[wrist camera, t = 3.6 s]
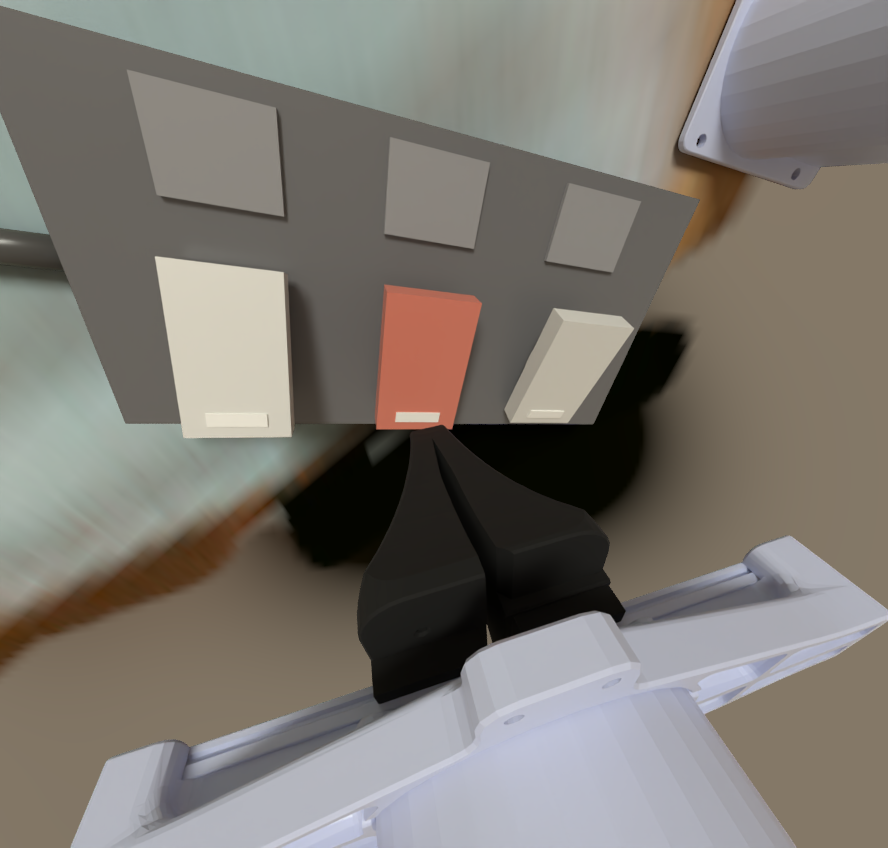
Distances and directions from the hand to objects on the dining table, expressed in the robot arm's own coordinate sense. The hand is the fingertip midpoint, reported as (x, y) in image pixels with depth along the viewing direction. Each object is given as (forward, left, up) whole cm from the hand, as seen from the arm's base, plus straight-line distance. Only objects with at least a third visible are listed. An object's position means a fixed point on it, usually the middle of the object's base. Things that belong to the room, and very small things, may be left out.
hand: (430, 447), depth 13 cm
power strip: (+3, -4, -7) cm, 9 cm away
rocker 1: (+7, -2, -4) cm, 8 cm away
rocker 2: (-7, -3, -4) cm, 8 cm away
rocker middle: (0, -2, -4) cm, 5 cm away
